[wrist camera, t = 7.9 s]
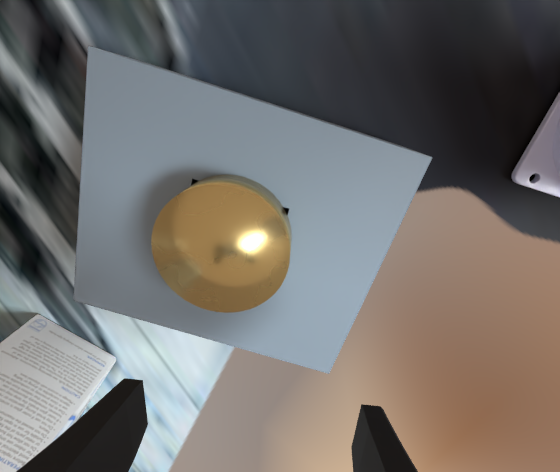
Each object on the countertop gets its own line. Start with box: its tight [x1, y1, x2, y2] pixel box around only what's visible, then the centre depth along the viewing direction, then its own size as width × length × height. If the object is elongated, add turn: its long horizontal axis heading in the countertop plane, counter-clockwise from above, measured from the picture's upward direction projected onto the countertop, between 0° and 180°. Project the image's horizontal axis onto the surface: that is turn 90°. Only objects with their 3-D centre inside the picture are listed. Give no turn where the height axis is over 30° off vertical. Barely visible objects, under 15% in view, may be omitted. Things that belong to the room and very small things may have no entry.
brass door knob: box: [151, 174, 292, 313], centre depth 16 cm, size 6×6×6 cm
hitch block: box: [74, 46, 432, 374], centre depth 17 cm, size 14×12×4 cm
